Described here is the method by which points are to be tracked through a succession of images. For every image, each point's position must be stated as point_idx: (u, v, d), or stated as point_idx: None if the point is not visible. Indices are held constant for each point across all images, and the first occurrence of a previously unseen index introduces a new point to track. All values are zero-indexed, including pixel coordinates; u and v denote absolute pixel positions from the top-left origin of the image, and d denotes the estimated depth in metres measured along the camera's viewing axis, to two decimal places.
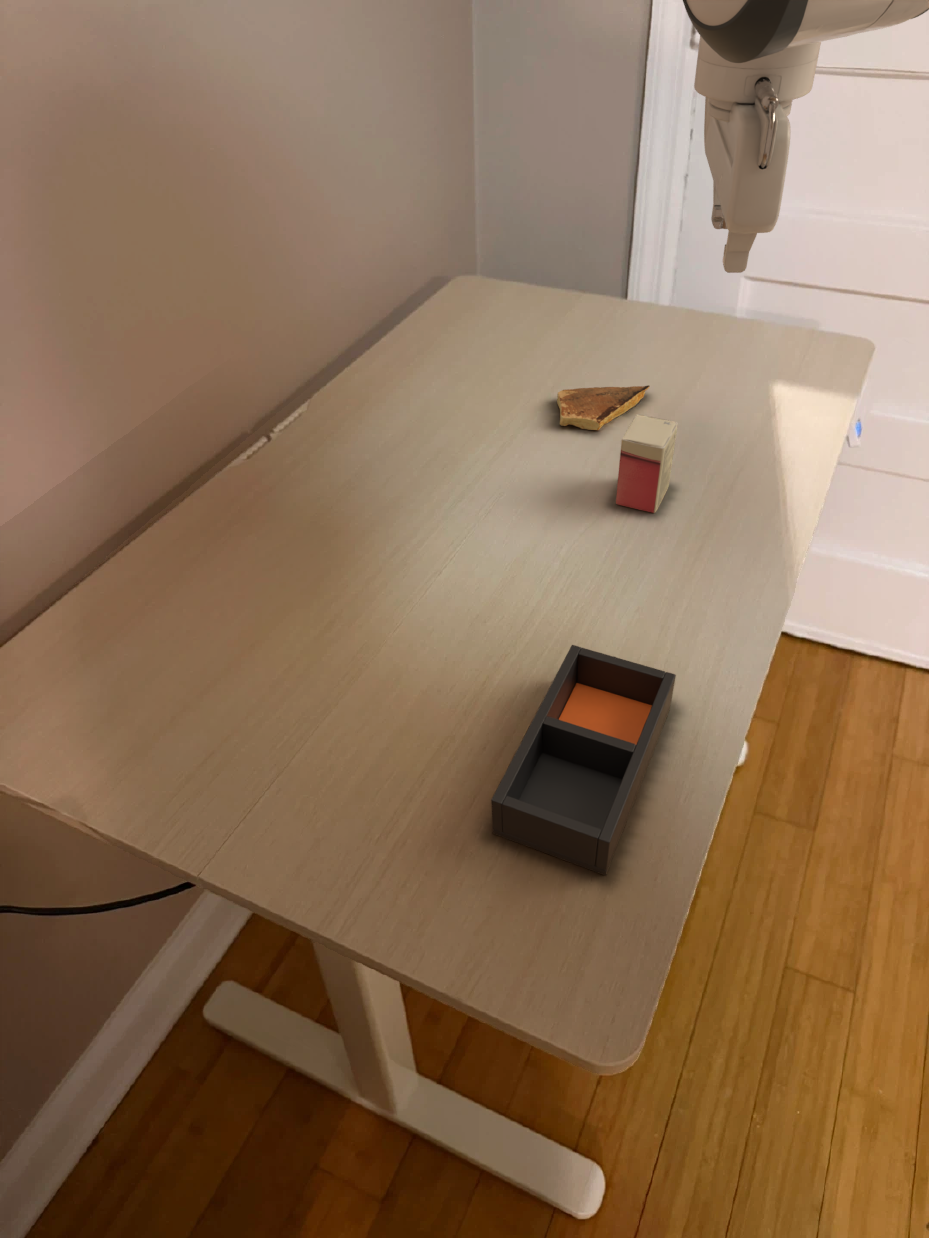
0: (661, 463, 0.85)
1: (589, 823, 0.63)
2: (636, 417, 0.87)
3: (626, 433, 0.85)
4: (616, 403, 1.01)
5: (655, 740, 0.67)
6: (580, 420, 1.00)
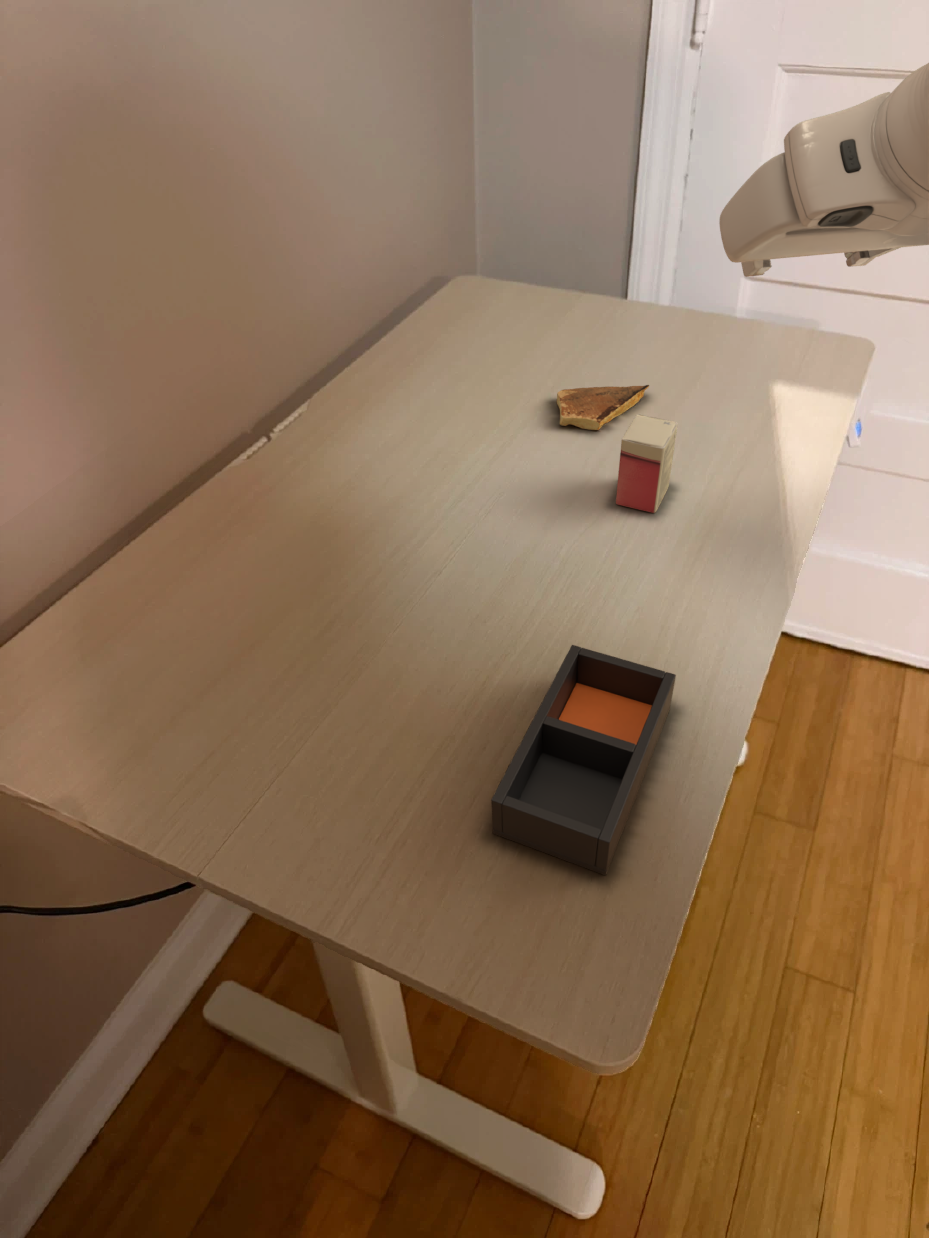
0: (661, 463, 0.85)
1: (589, 823, 0.63)
2: (636, 417, 0.87)
3: (626, 433, 0.85)
4: (615, 403, 1.01)
5: (655, 740, 0.67)
6: (580, 420, 1.00)
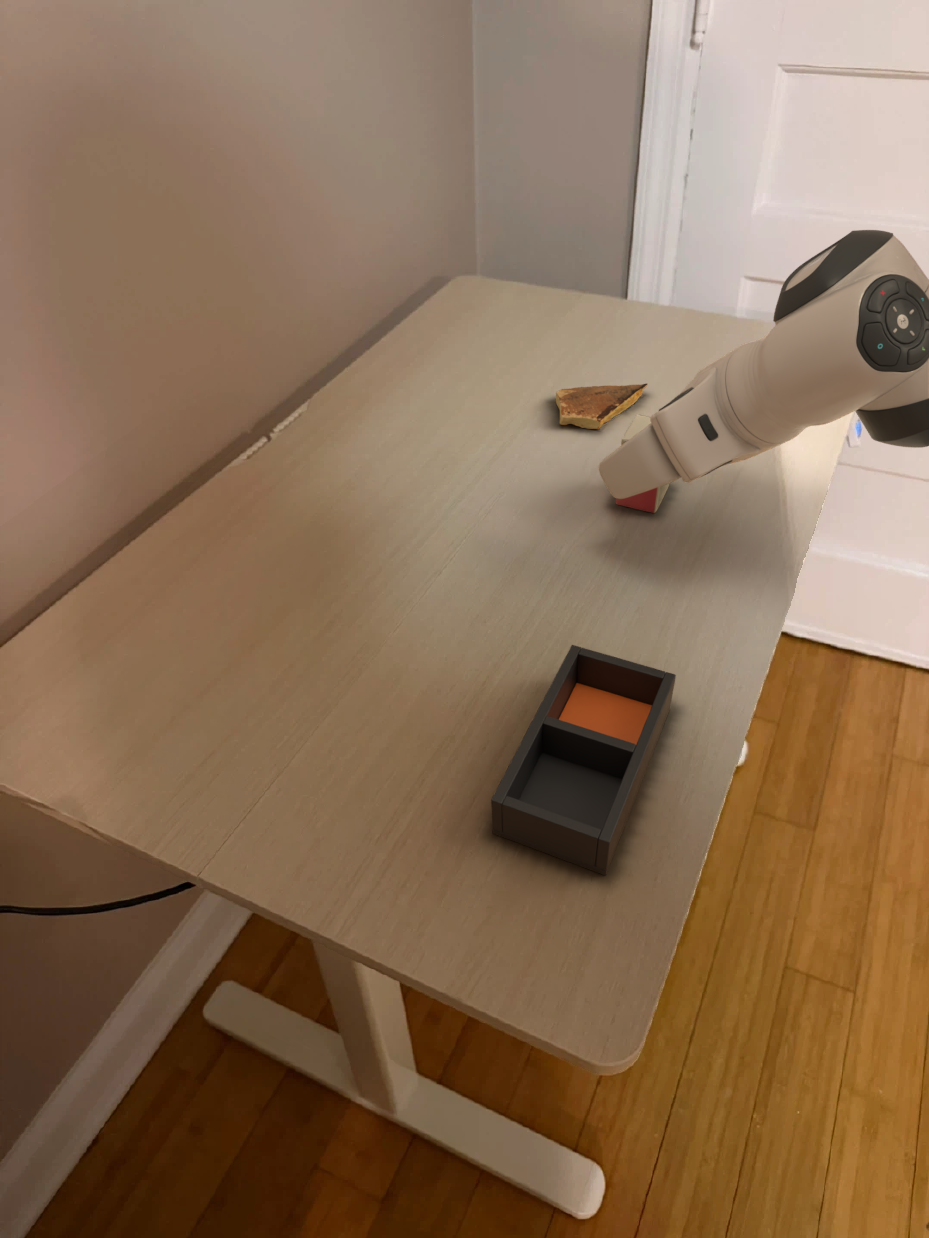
0: None
1: (589, 823, 0.63)
2: (636, 417, 0.87)
3: (626, 433, 0.85)
4: (615, 402, 1.01)
5: (655, 740, 0.67)
6: (580, 419, 1.00)
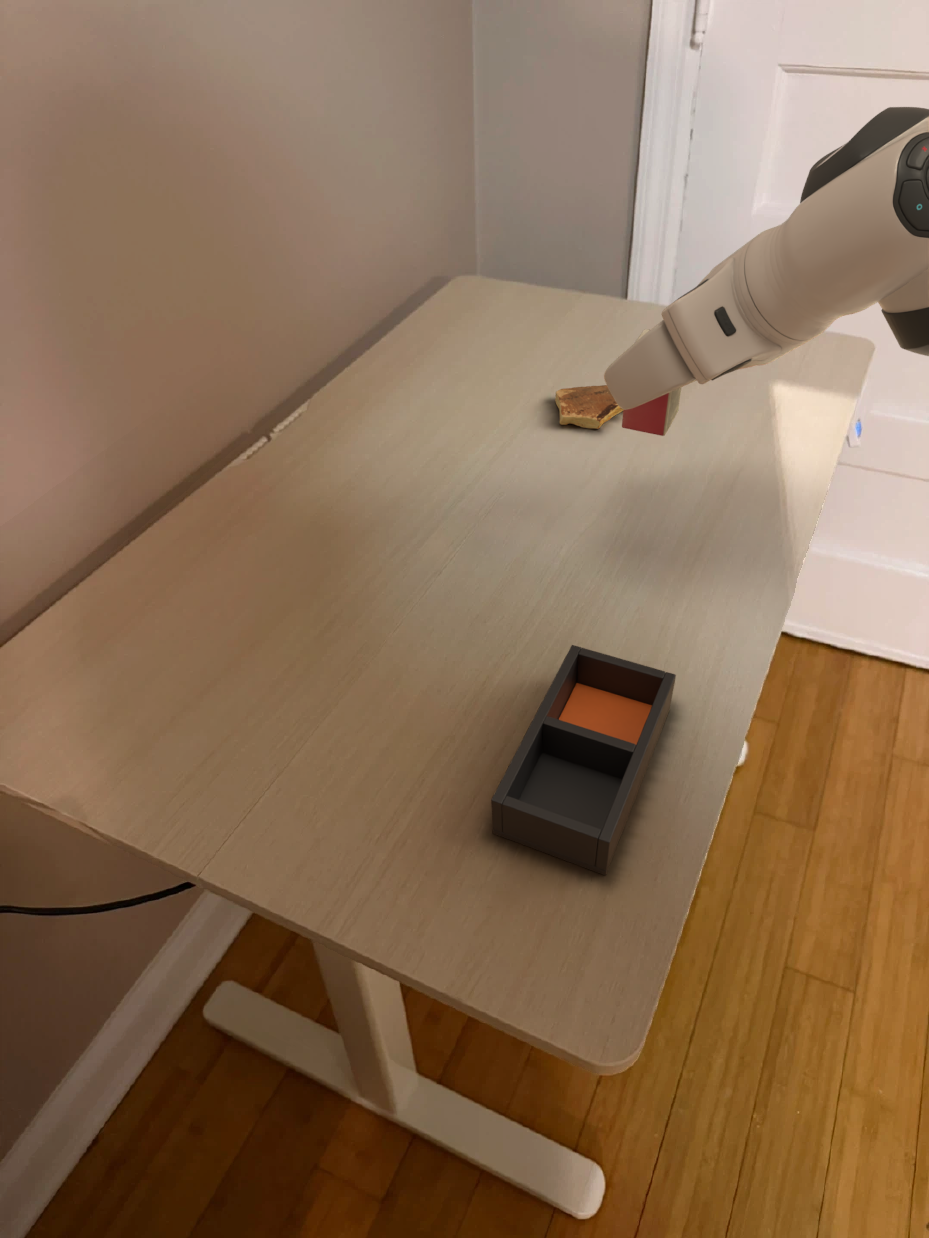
0: None
1: (589, 823, 0.63)
2: (644, 331, 0.81)
3: None
4: (615, 401, 1.02)
5: (655, 740, 0.67)
6: (580, 419, 1.00)
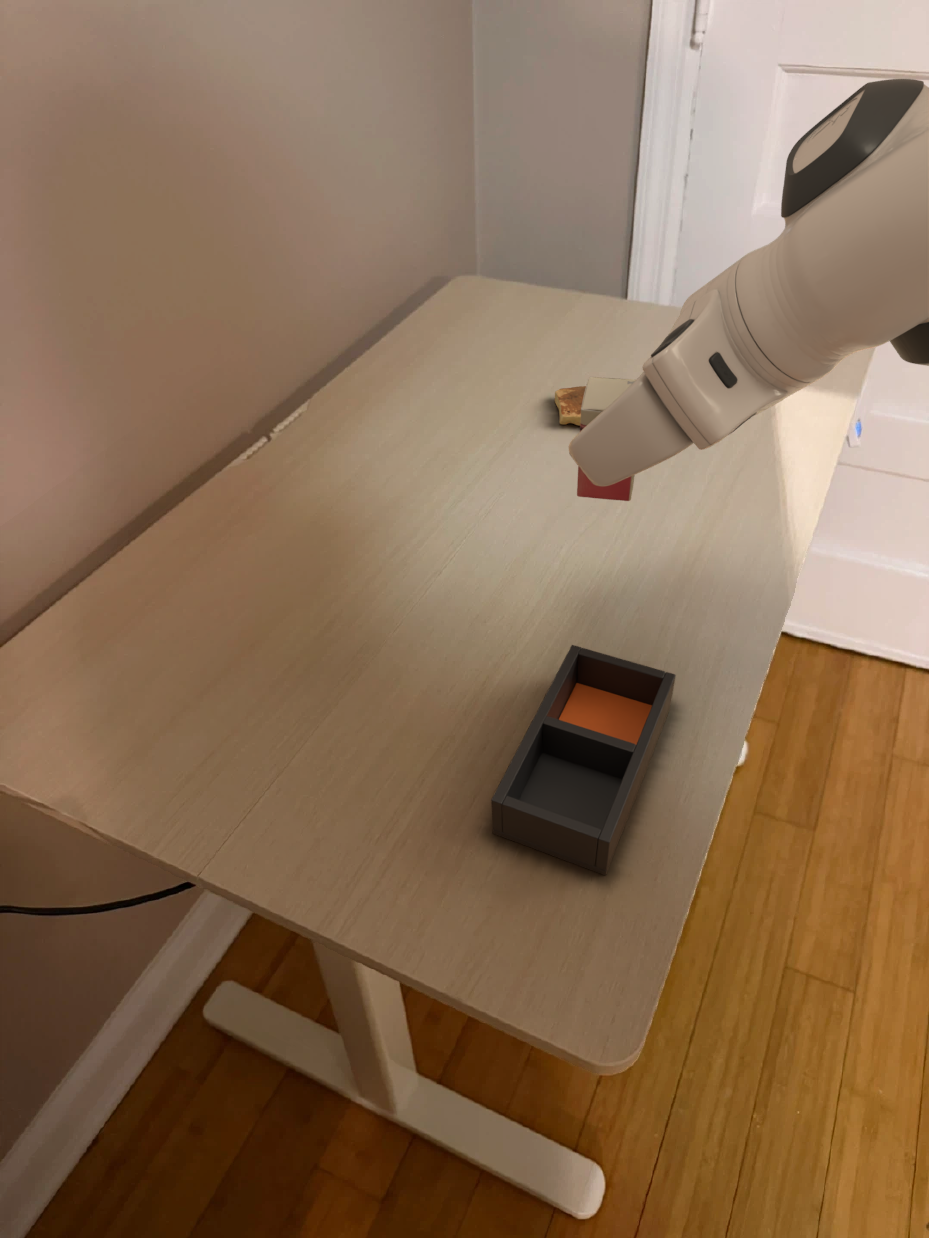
0: None
1: (589, 823, 0.63)
2: (590, 380, 0.67)
3: (584, 401, 0.65)
4: None
5: (655, 740, 0.67)
6: (580, 418, 1.00)
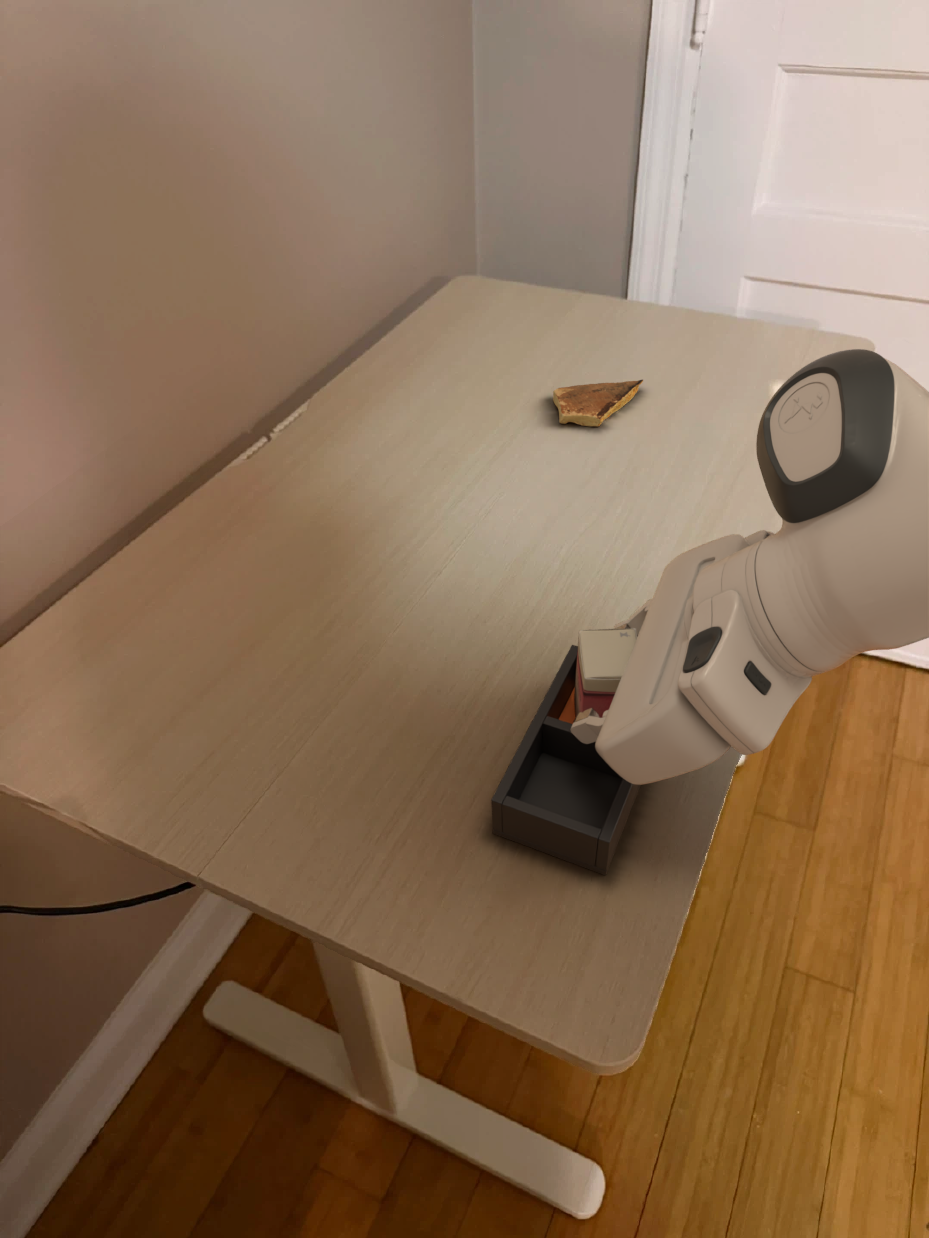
0: None
1: (589, 823, 0.63)
2: (581, 635, 0.65)
3: (585, 666, 0.63)
4: (613, 399, 1.02)
5: None
6: (580, 417, 1.00)
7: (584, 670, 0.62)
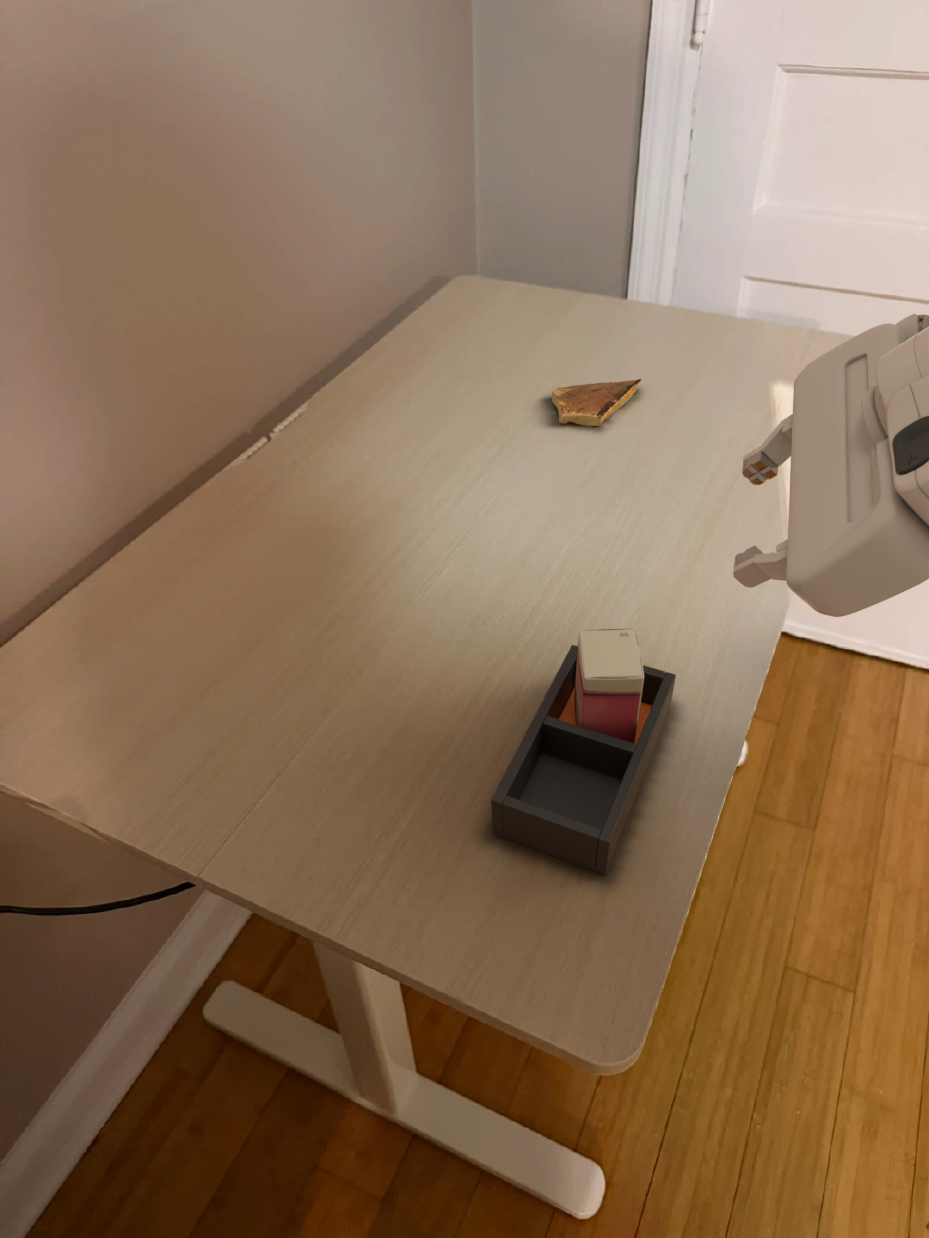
0: (641, 693, 0.63)
1: (589, 823, 0.63)
2: (581, 635, 0.65)
3: (585, 666, 0.63)
4: (612, 398, 1.02)
5: (655, 740, 0.67)
6: (580, 417, 1.00)
7: (584, 670, 0.62)
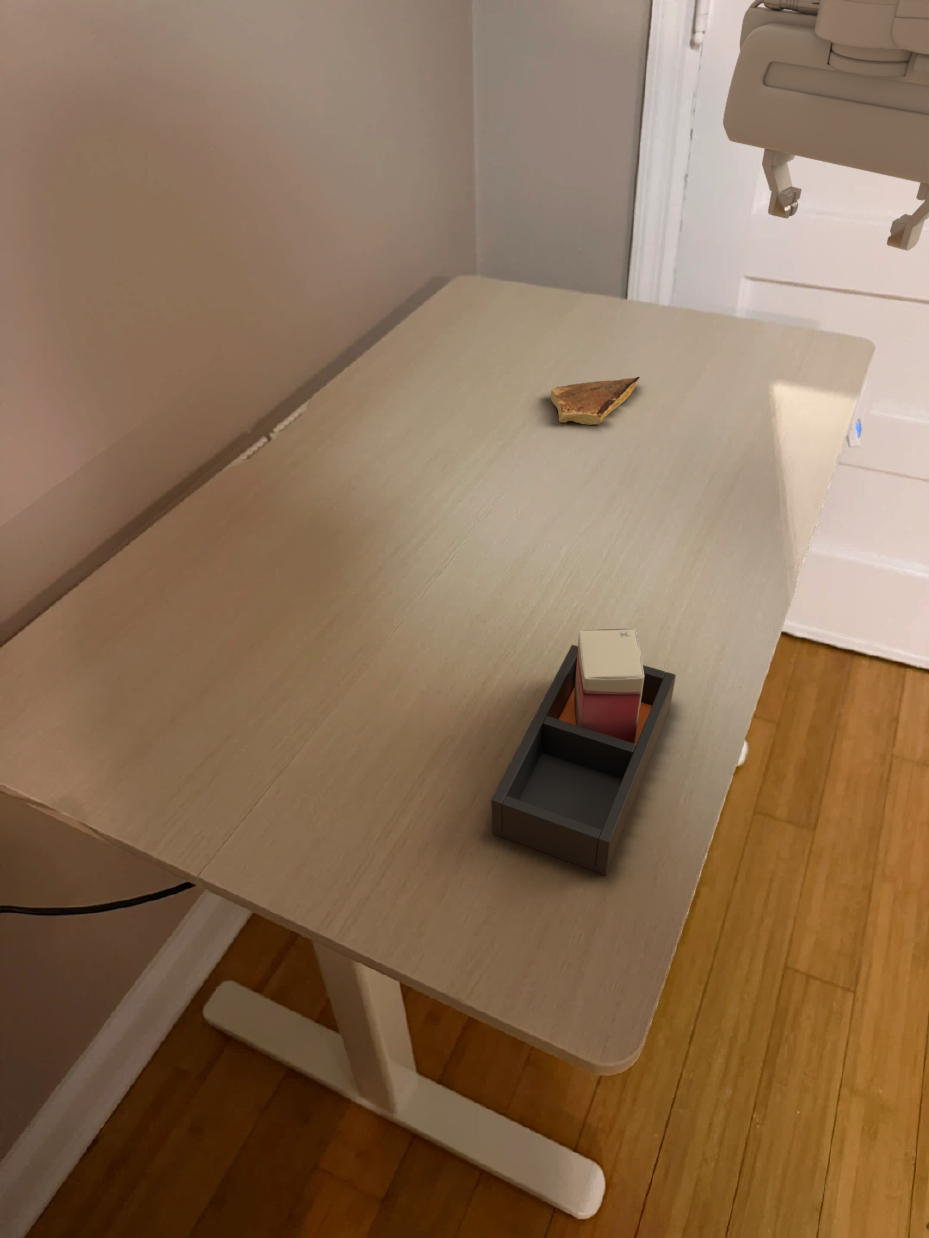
0: (641, 693, 0.63)
1: (589, 823, 0.63)
2: (581, 635, 0.65)
3: (585, 666, 0.63)
4: (612, 396, 1.02)
5: (655, 740, 0.67)
6: (580, 416, 1.00)
7: (584, 670, 0.62)
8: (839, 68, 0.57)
